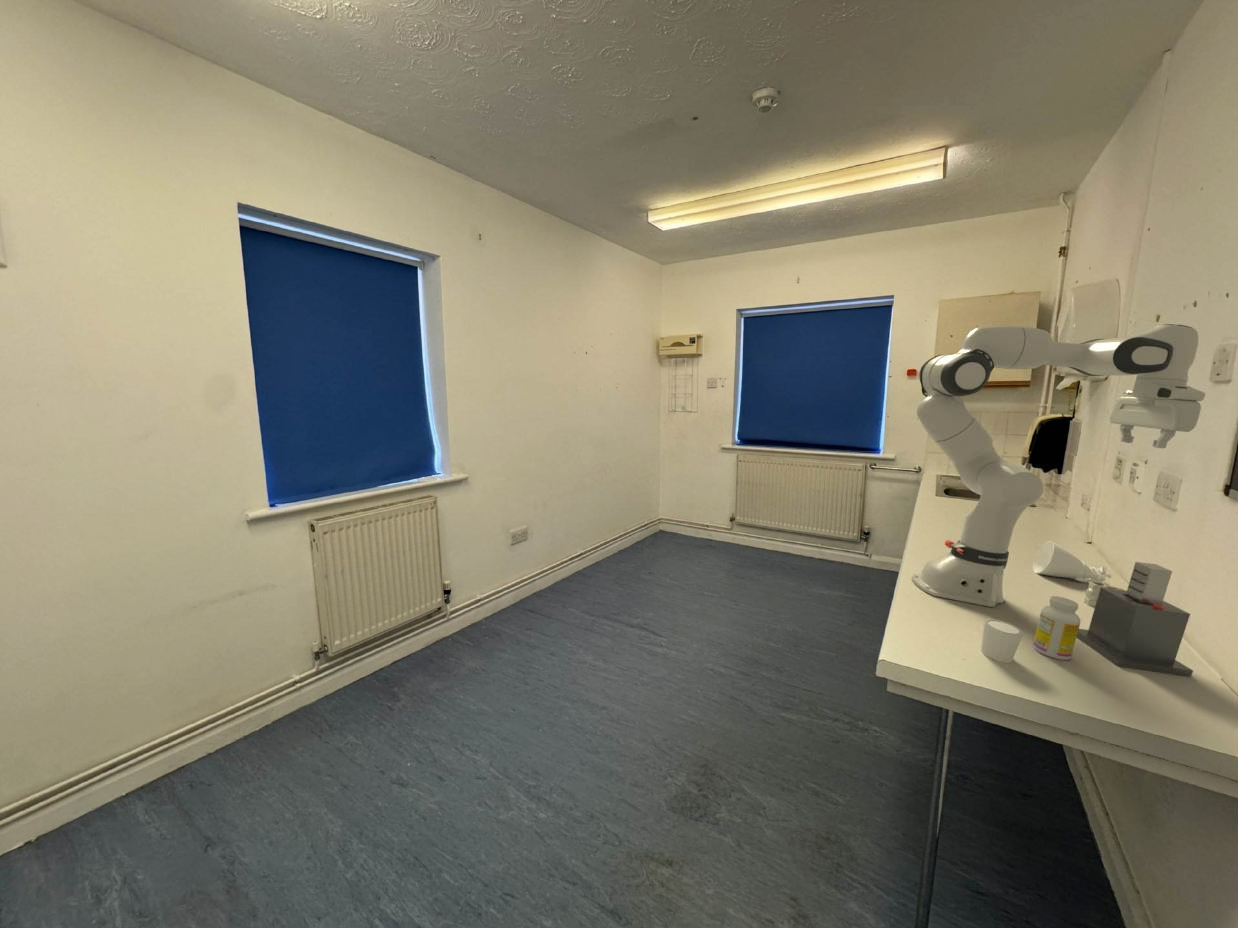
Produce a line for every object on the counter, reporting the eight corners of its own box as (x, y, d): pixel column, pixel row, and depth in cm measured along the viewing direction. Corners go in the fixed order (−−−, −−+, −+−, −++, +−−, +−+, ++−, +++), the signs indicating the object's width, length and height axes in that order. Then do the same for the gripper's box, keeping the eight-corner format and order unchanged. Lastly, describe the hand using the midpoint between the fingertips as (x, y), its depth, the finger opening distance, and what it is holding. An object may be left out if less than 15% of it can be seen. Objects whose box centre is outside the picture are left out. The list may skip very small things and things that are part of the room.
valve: (1082, 605, 137) (1143, 623, 129) (1088, 584, 136) (1150, 600, 128) (1083, 599, 142) (1142, 615, 133) (1089, 578, 140) (1149, 593, 132)
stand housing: (1117, 666, 107) (1135, 607, 104) (1070, 633, 120) (1085, 580, 117) (1191, 676, 105) (1211, 617, 102) (1134, 641, 118) (1151, 588, 115)
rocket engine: (1123, 558, 151) (1055, 534, 158) (1123, 589, 145) (1052, 563, 152) (1098, 574, 160) (1034, 551, 167) (1097, 603, 154) (1031, 578, 161)
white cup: (978, 642, 112) (985, 615, 111) (1016, 655, 108) (1023, 626, 107) (976, 655, 107) (983, 626, 106) (1015, 668, 103) (1023, 638, 102)
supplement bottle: (1071, 654, 110) (1086, 602, 108) (1069, 664, 106) (1084, 611, 103) (1033, 641, 115) (1047, 591, 113) (1029, 650, 111) (1043, 599, 108)
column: (1124, 650, 110) (1149, 568, 106) (1109, 640, 114) (1133, 561, 111) (1147, 653, 110) (1173, 571, 106) (1131, 643, 114) (1155, 563, 110)
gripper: (1109, 389, 133) (1096, 438, 136) (1182, 391, 113) (1164, 449, 116) (1135, 391, 132) (1121, 440, 135) (1213, 394, 112) (1194, 452, 115)
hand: (1141, 445), depth 125 cm, fingers open, 8 cm apart
